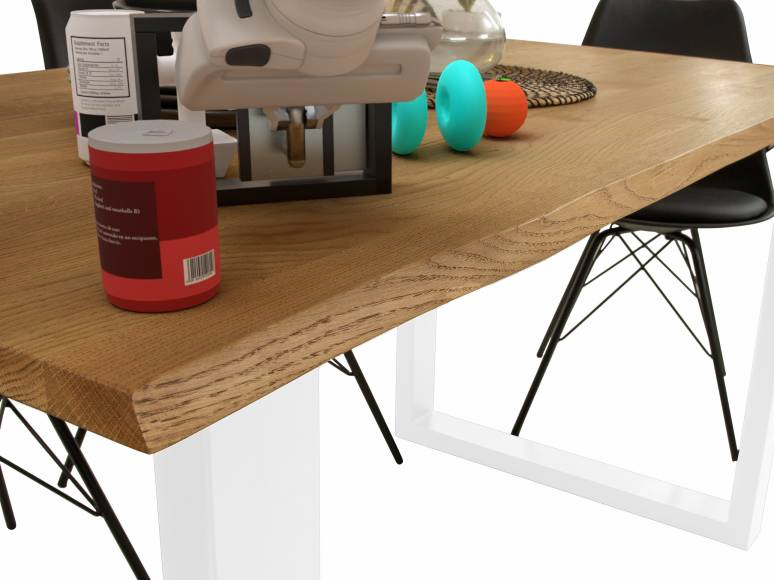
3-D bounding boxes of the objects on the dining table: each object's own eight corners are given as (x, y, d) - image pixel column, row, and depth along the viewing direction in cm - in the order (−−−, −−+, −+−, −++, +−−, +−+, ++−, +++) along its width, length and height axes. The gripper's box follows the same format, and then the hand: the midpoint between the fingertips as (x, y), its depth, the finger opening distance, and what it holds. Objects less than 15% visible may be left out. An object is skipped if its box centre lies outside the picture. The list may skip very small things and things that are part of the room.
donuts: (375, 145, 115) (375, 56, 112) (457, 141, 119) (459, 54, 115) (401, 163, 107) (402, 67, 103) (489, 158, 110) (492, 65, 106)
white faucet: (253, 177, 99) (246, 20, 94) (157, 187, 95) (144, 22, 90) (229, 163, 105) (221, 14, 100) (138, 171, 101) (125, 16, 96)
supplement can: (66, 159, 105) (50, 10, 100) (140, 149, 110) (128, 8, 105) (100, 173, 100) (85, 16, 94) (176, 162, 105) (165, 13, 100)
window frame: (150, 211, 87) (133, 17, 81) (145, 200, 90) (129, 13, 85) (391, 193, 95) (392, 14, 89) (378, 183, 98) (378, 11, 93)
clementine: (487, 128, 127) (489, 70, 125) (538, 133, 124) (541, 75, 122) (460, 138, 120) (461, 78, 118) (513, 144, 118) (516, 82, 115)
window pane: (250, 192, 86) (242, 39, 82) (239, 179, 90) (231, 33, 86) (347, 186, 89) (345, 37, 85) (332, 173, 93) (329, 31, 89)
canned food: (224, 272, 72) (215, 118, 68) (219, 311, 65) (209, 141, 61) (112, 276, 71) (97, 119, 67) (95, 317, 63) (76, 143, 60)
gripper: (439, -18, 80) (399, 89, 92) (175, -18, 73) (168, 98, 84) (459, 46, 77) (415, 147, 89) (188, 52, 70) (179, 161, 82)
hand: (293, 123), depth 87 cm, fingers closed on window pane, 2 cm apart
